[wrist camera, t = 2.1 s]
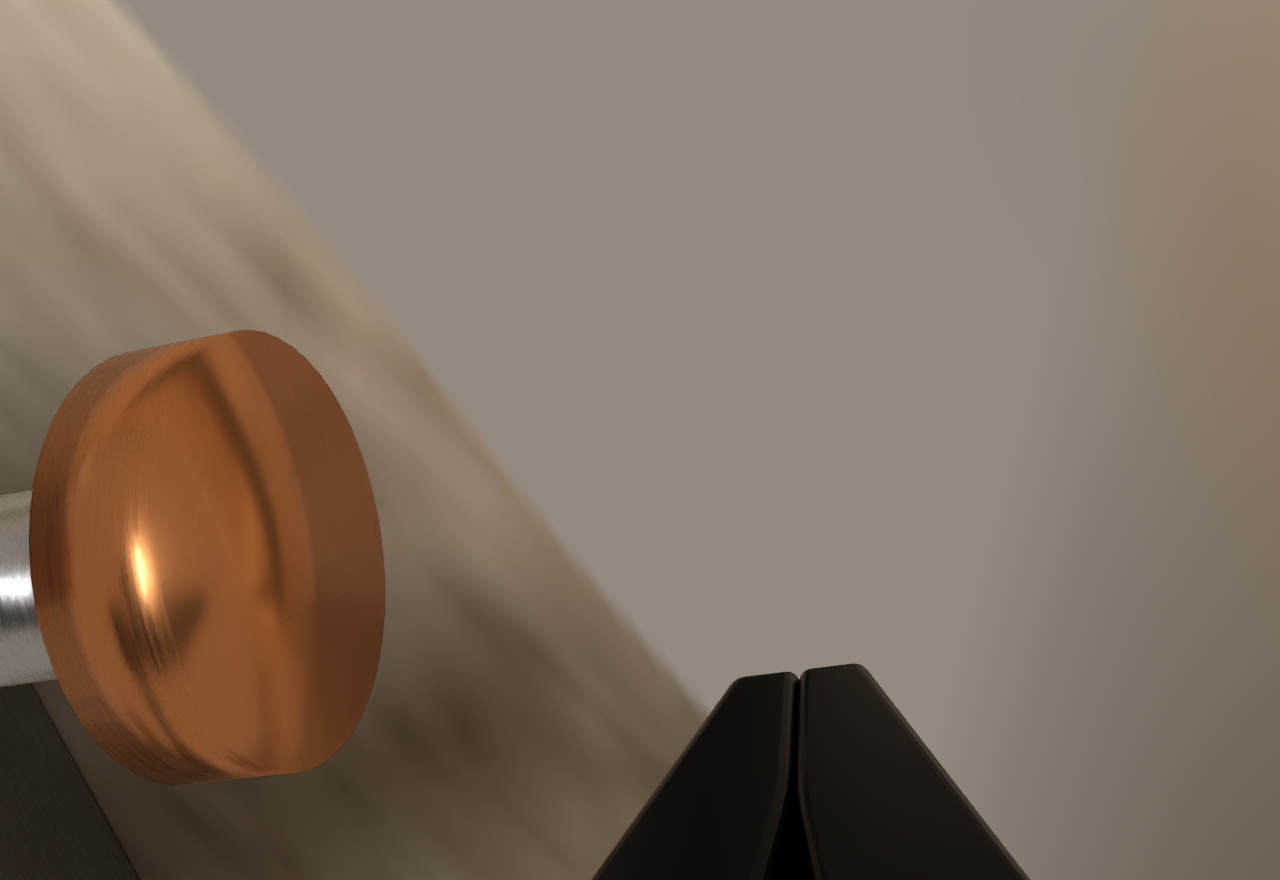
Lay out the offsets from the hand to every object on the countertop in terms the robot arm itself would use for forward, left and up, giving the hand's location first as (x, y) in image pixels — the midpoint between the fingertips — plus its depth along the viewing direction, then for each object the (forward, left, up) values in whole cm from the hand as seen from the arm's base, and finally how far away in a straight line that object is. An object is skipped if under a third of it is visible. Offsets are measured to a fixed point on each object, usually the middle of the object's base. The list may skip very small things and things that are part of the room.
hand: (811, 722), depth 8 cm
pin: (0, +12, -6) cm, 14 cm away
